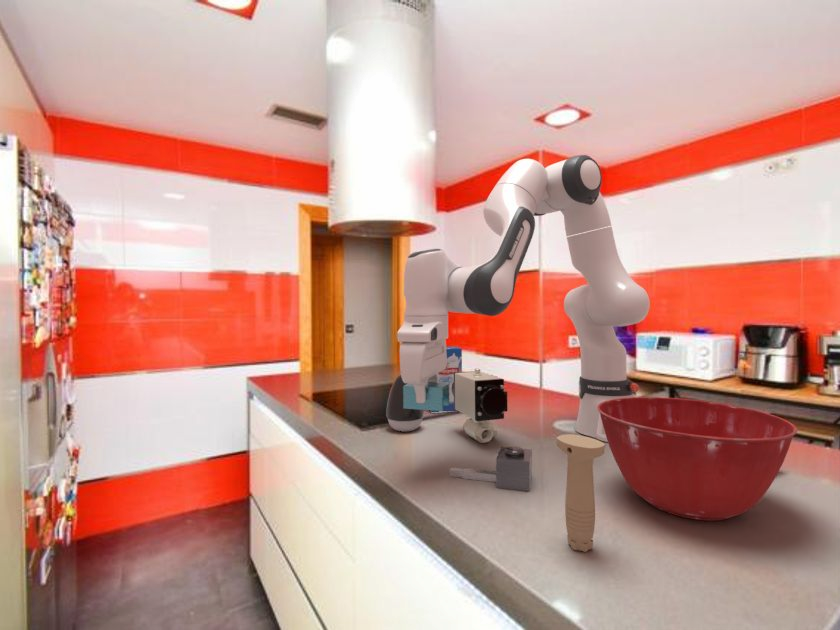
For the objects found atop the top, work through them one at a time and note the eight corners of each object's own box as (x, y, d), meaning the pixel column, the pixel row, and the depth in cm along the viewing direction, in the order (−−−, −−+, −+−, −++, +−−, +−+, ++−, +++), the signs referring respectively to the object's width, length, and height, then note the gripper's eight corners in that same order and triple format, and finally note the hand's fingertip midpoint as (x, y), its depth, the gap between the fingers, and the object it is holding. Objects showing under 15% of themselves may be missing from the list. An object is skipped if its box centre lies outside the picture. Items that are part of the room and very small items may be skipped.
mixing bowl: (652, 460, 96) (652, 389, 95) (824, 513, 72) (826, 418, 71) (564, 492, 81) (564, 407, 80) (746, 571, 56) (747, 451, 56)
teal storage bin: (403, 408, 88) (403, 385, 88) (412, 402, 94) (412, 381, 93) (442, 411, 86) (442, 388, 86) (449, 404, 91) (449, 383, 91)
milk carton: (431, 413, 138) (430, 349, 137) (427, 409, 144) (426, 347, 143) (462, 411, 140) (462, 348, 139) (456, 407, 146) (456, 346, 145)
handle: (590, 563, 58) (590, 450, 58) (550, 542, 64) (550, 438, 63) (610, 551, 61) (611, 443, 61) (571, 531, 67) (571, 432, 66)
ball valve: (513, 447, 105) (513, 372, 104) (481, 452, 102) (480, 375, 102) (479, 427, 122) (478, 363, 121) (450, 431, 119) (450, 365, 119)
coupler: (446, 482, 85) (446, 449, 85) (454, 468, 92) (454, 438, 92) (529, 491, 81) (529, 457, 80) (531, 477, 87) (531, 445, 87)
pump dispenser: (417, 436, 115) (417, 377, 114) (380, 432, 118) (379, 375, 118) (429, 425, 124) (428, 371, 124) (394, 422, 128) (394, 370, 127)
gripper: (426, 327, 100) (426, 388, 100) (393, 333, 81) (394, 409, 81) (453, 327, 98) (453, 389, 99) (426, 333, 79) (427, 411, 79)
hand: (426, 398), depth 90 cm, fingers closed on teal storage bin, 5 cm apart
